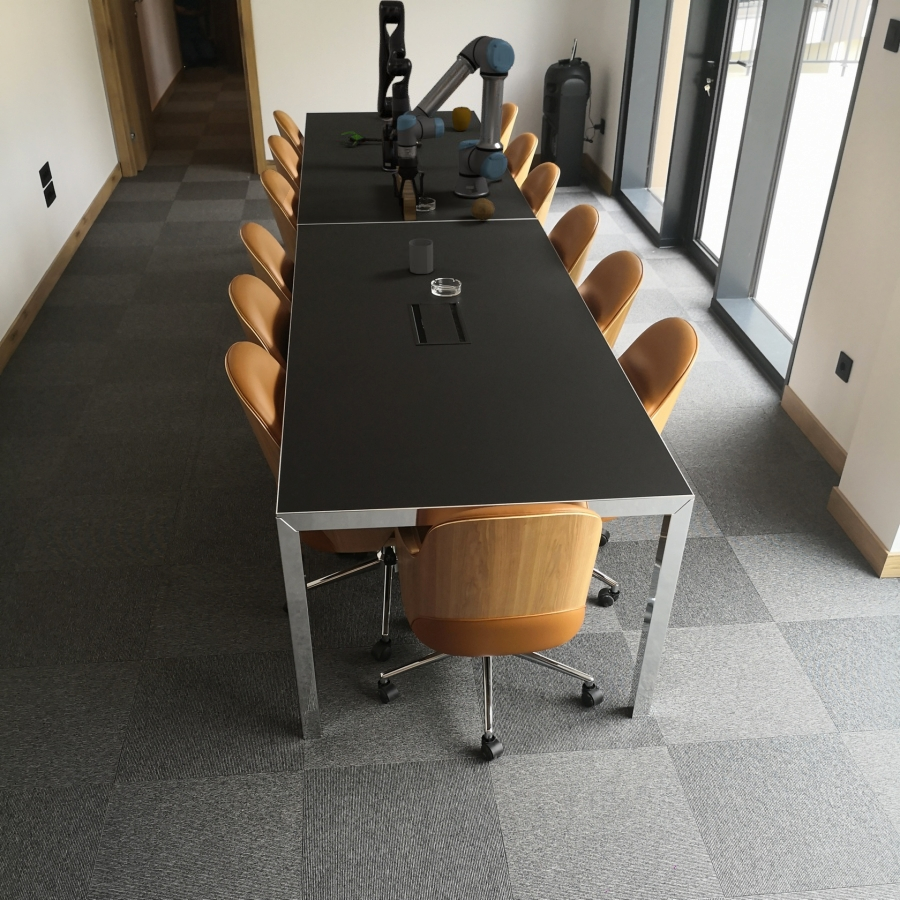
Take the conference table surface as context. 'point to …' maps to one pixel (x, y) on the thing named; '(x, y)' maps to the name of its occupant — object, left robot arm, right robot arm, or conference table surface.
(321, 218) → the conference table surface
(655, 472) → the conference table surface
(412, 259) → the cup
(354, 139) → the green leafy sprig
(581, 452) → the conference table surface
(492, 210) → the potato
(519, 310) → the conference table surface
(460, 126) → the apple
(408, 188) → the post
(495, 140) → the right robot arm
